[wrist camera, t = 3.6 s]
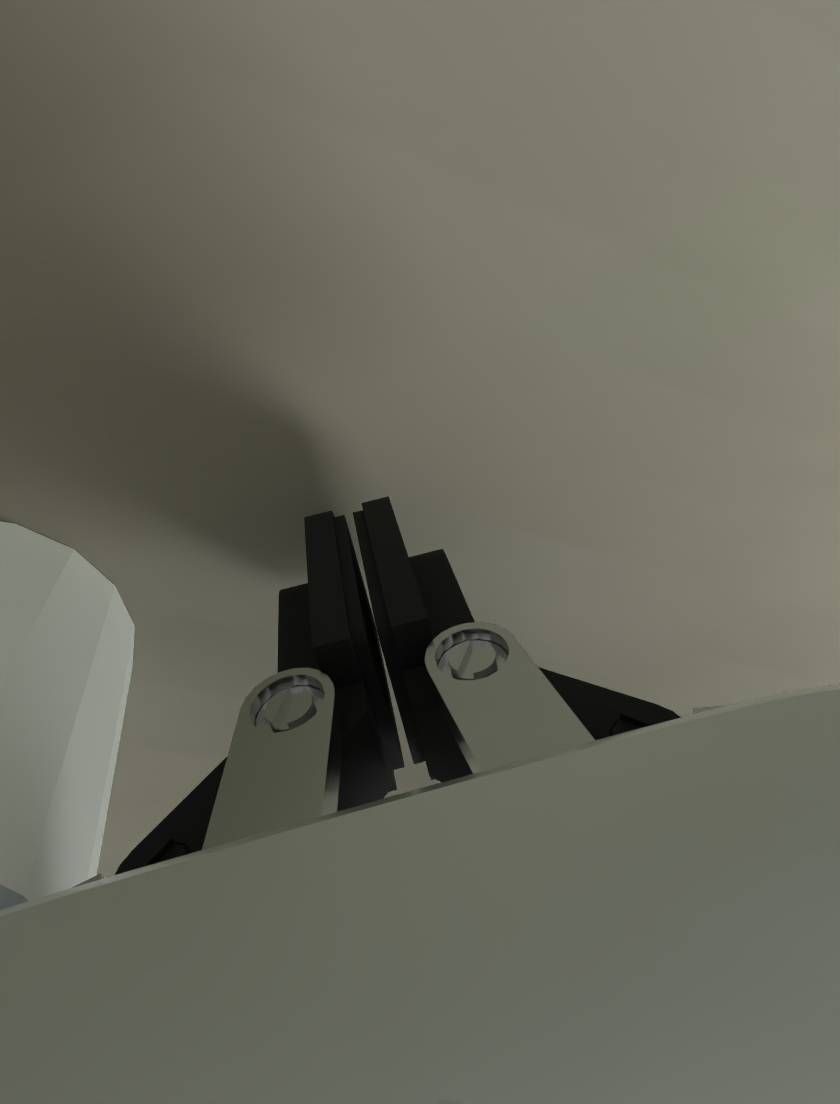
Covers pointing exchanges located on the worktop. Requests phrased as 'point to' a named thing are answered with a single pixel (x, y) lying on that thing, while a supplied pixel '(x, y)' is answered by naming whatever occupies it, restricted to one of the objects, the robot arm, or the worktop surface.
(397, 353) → the worktop surface
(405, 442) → the worktop surface
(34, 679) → the shot glass
